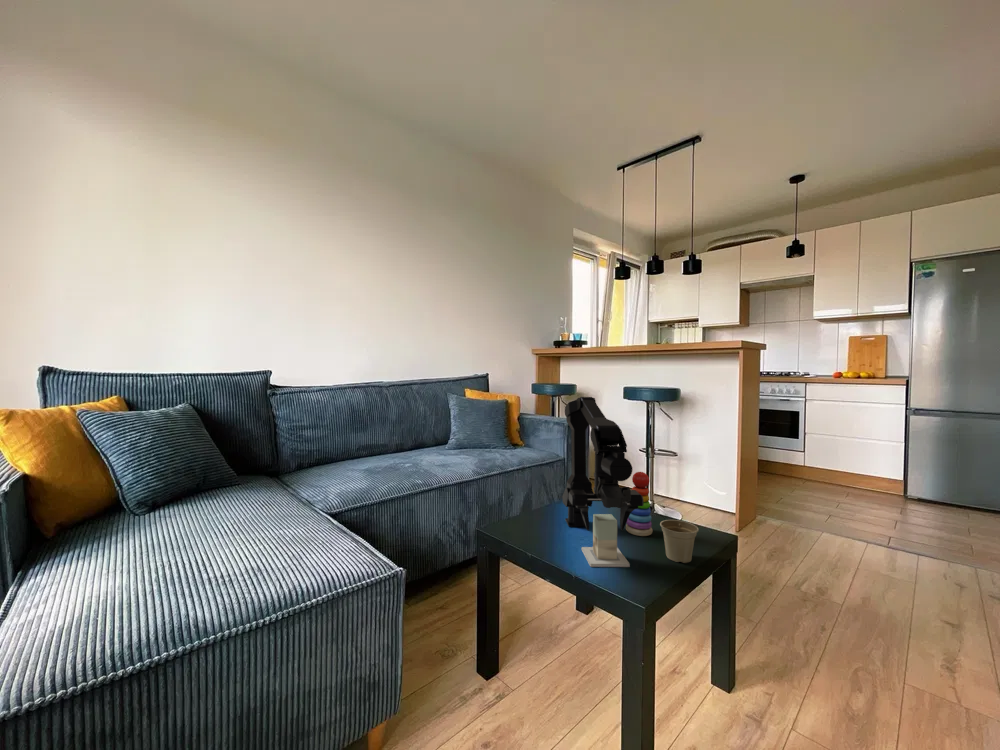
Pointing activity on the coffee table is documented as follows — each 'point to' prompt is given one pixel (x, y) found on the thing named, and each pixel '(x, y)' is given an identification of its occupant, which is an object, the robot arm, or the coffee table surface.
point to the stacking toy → (640, 508)
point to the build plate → (596, 562)
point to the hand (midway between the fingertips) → (604, 529)
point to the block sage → (604, 527)
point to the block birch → (604, 548)
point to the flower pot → (679, 539)
